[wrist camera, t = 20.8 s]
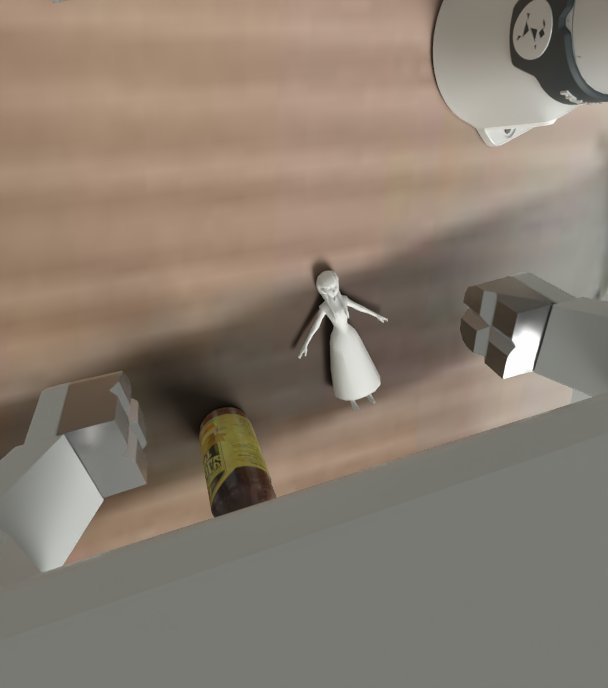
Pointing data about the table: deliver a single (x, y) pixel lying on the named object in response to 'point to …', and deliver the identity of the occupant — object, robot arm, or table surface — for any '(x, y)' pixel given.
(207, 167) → the table surface
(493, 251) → the table surface
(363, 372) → the woman figurine
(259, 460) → the sauce bottle
